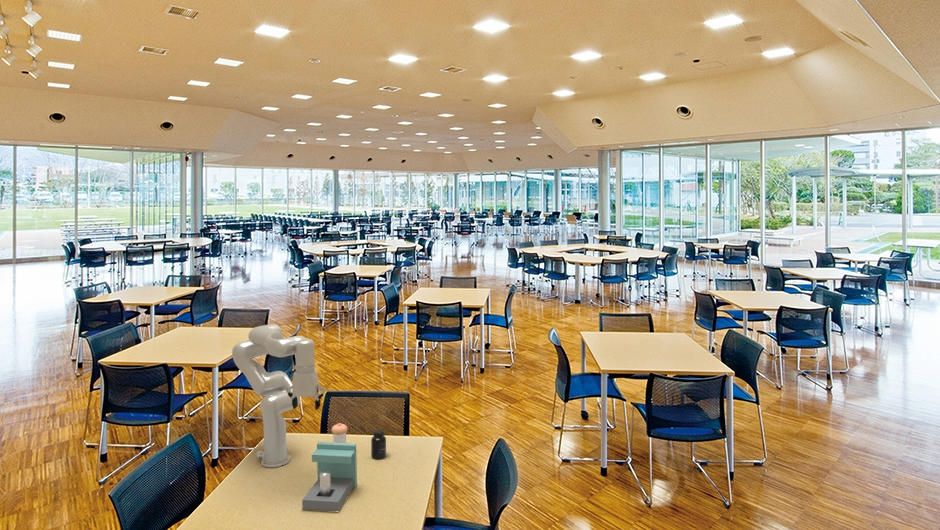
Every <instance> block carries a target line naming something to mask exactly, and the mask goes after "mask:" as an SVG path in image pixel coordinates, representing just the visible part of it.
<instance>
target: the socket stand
mask: <svg viewBox="0 0 940 530" xmlns="http://www.w3.org/2000/svg"><path fill="white" fill-rule="evenodd" d="M357 461H358V460H357V443H350V442H349V443H347V442H346V443H333V442H327V441H326V442H322V441H318V442H317V443H316V449H315V450H314V452H313V453H312V454H311V462H312V463H316V467H317V471H316V472H317V473H316V474H317V480H316V481H315V482H314V484H313V485H312V486H311V488H310V489H309V490H308V492H307V493H306V494H305V496H304V497H303V498H302V500H301V501H302V503H301V505H302V511H311V510H320V511H319V512H328V511H339V512H340V510H341V508H342V507H343V505H344V504H343V503H345V501H346V500H347V499H346V498H348V497H349V495H350V494H351V492H352V491H353V489H356V488H357V486H358V476H357V475H358V473H357V470H358V469H357V468H358V467H357ZM322 471H330V477H331V497H322V496H320V472H322ZM349 493H350V494H349ZM347 496H348V497H347ZM341 506H342V507H341ZM339 509H340V510H339Z"/></svg>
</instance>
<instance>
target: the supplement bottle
mask: <svg viewBox="0 0 940 530" xmlns="http://www.w3.org/2000/svg"><path fill="white" fill-rule="evenodd" d="M372 435H373V436H372V437H371V441H370V443H371V444H370V445H371V446H370V447H371V449H370V450H371V452H370V454H371V455H370V456H371V458H372V459H375V460H381V459H385V457H386V456H387V437H386V436H385V431H384V430H383V429H375V430H374V431H373V434H372Z"/></svg>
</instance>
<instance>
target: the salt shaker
mask: <svg viewBox="0 0 940 530" xmlns="http://www.w3.org/2000/svg"><path fill="white" fill-rule="evenodd" d="M331 433H332V434H333V439H332V440H333V441H332V443H347V433H348V426H347V425H346V424H344V423H340V422H339V423H337V424H334V425H332V427H331Z"/></svg>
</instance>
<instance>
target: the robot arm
mask: <svg viewBox="0 0 940 530" xmlns="http://www.w3.org/2000/svg"><path fill="white" fill-rule="evenodd" d="M231 351H232V352H231V354H232V355H231V356H232V359H233V362H234V364H235V366H236V367H237V368H238V369H239V370H240V372H242V374H244V375H243V376H245V377H246V380H247V381H248V383H249V385H250V386H251V388H252V390H253V391H254V393H255V394H256V395H257V396H259V397H263V398H262V399H261V400H260V411H261V416H262V422H263V446H264V447H263V449H264V450H257V452H256V458H262V459H261V461H260V463H261V466H263V467H265V468H270V469H271V468H277V467H283V466H285V465H286V464H288V463H290V461H291V455H290V454H288V448H287V444H288V443H287V441H288V440H287V422H286V420H285V418H284V417H283V416H282V415H281V414H282V413H285V412H287V411H291V410H295V409H297V408H298V407H299V406H300V403H301V397H303V398H305V397H306V398H307V397H308V398H312V397H314V399H315V401H314V409H315V410H316V411H318V410H319V409H320V407H321V399H322V397H324V396H325V394H326V392H327V389H326V388H325V387H322V386H321V385H319V377H318V373H317V371H316V370H315V367H316V366H315V342H314V340H313V339H311V338H307V337H305V336H304V335H295V336H294V335H293V336H289V337H285V338H283V330H282V329H281V327H280V326H279V325H278V324H276V323H270V324H265V325H259V326H255V327H253V328H251V330H250V331H249V332H248V340H243V341H241V342H238V343H236V344H235V345H234V346H233V347H232V350H231ZM266 355H270V356H272V357H277V358H286V357H289V356H294V355H295V365H293V366H292V369H294V370H295V371H294V373H293V375H292V376H293V377H292V380H291V379H290V378H289V376H288V374H286V372H284V371H282V370H275V371H272V372H268V371H266V369H265V367H264V365H263V364H262V363H260V362H258V361H256V360H255V359H253V358H258V357H262V356H266ZM319 392H320V393H319ZM282 465H283V466H282Z"/></svg>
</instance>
